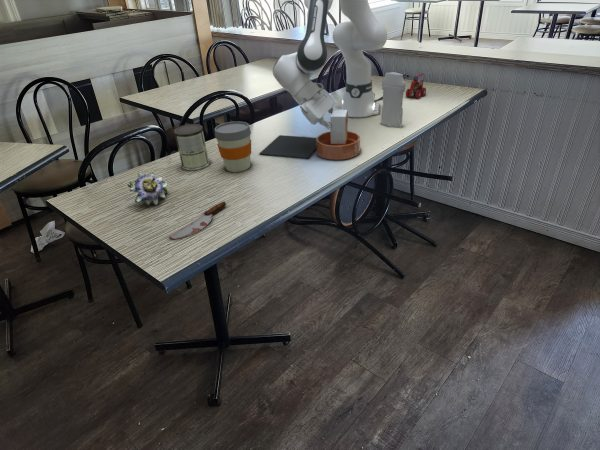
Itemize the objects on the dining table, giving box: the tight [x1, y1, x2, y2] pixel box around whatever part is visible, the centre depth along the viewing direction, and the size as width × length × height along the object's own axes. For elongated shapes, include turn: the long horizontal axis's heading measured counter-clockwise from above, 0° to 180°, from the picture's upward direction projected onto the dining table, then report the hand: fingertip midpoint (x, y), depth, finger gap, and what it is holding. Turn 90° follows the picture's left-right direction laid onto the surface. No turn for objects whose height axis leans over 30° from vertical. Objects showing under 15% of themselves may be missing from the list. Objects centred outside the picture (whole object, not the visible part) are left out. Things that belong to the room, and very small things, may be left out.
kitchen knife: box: [169, 201, 227, 240], centre depth 121 cm, size 21×2×5 cm
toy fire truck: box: [405, 73, 427, 99], centre depth 211 cm, size 7×12×10 cm, turn 139°
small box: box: [329, 109, 349, 144], centre depth 154 cm, size 8×6×10 cm
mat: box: [259, 134, 317, 160], centre depth 166 cm, size 20×20×1 cm
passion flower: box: [127, 171, 168, 206], centre depth 134 cm, size 11×11×12 cm
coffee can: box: [173, 123, 210, 171], centre depth 154 cm, size 10×10×14 cm
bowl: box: [315, 130, 361, 161], centre depth 158 cm, size 16×16×6 cm
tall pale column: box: [380, 71, 407, 128], centre depth 174 cm, size 11×4×22 cm, turn 51°
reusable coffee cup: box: [214, 121, 252, 173], centre depth 149 cm, size 13×13×15 cm
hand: (334, 123), depth 154 cm, fingers closed on small box, 8 cm apart
